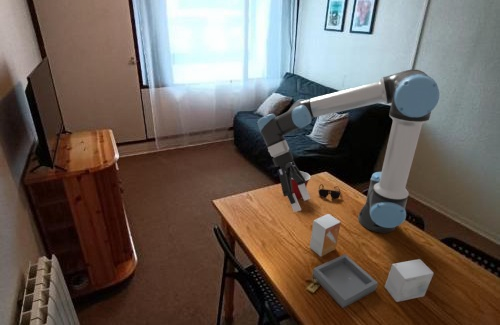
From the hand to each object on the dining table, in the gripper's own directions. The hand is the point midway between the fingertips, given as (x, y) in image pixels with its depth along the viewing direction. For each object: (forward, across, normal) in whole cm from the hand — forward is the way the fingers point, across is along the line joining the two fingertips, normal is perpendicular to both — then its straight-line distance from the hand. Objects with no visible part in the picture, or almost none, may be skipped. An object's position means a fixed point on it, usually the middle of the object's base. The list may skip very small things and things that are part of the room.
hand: (302, 204), depth 114 cm
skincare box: (+35, +8, +24) cm, 43 cm away
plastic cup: (+2, -31, -14) cm, 34 cm away
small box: (+19, 0, 0) cm, 19 cm away
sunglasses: (+8, -41, -1) cm, 42 cm away
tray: (+26, +13, +8) cm, 30 cm away
